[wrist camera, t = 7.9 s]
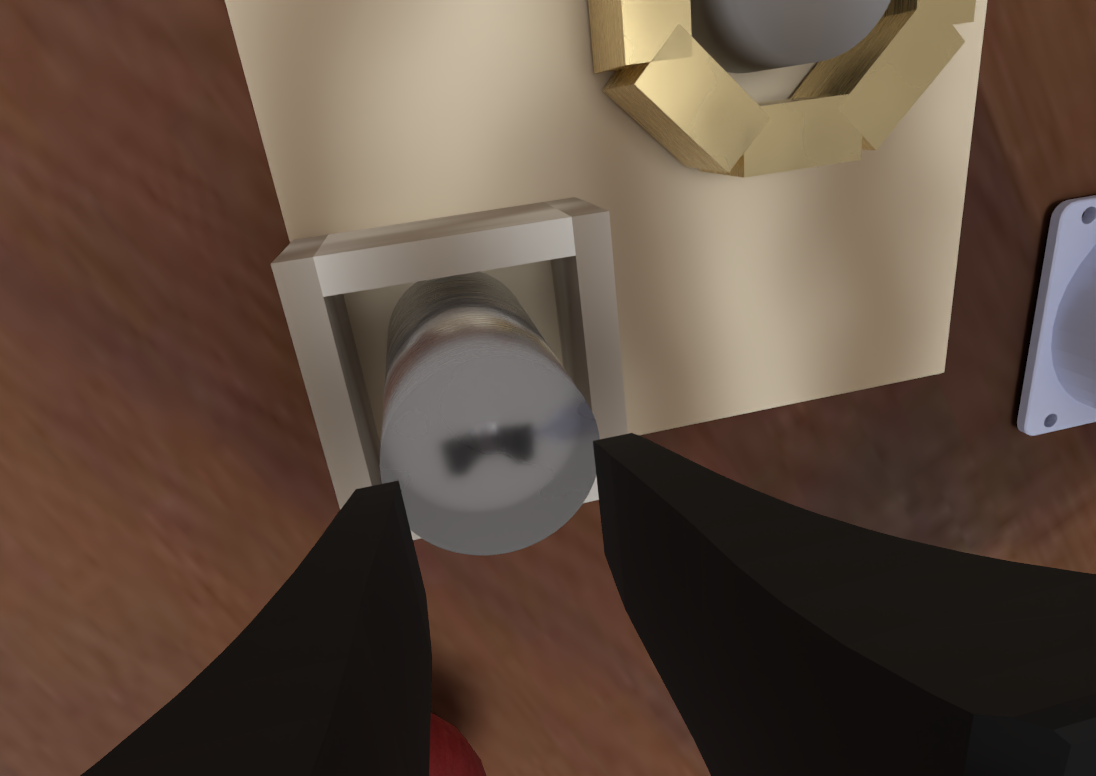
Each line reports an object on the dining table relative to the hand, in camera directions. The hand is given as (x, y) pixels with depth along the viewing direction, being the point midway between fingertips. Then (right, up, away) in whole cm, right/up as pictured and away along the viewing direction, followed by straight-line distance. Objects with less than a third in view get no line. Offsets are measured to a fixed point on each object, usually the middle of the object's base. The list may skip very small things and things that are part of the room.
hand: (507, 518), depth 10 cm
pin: (-2, +3, +7) cm, 8 cm away
